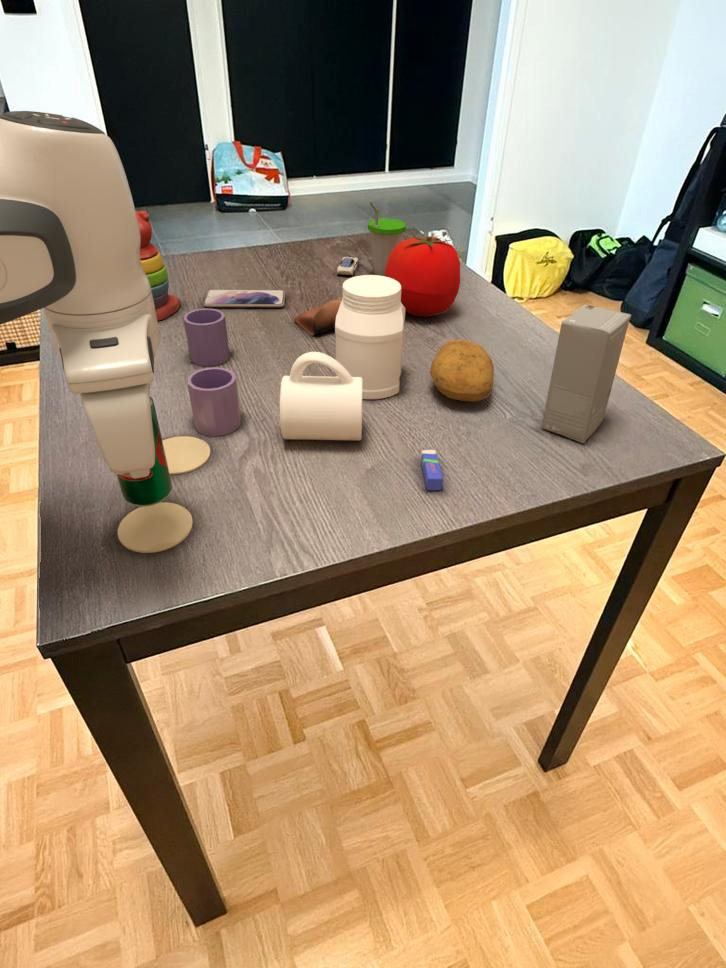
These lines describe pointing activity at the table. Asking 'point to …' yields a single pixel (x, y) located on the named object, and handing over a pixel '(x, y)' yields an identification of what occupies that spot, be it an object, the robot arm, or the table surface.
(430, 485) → the eraser
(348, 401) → the mug
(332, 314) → the sunglasses case
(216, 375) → the purple tumbler
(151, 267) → the stacking bear
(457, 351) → the potato
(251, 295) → the smartphone
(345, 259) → the toy car
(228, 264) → the table surface
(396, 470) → the table surface
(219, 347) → the purple hollow cylinder
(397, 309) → the jar
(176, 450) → the coasters
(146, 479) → the soda can
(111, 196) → the robot arm
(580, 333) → the cosmetic box
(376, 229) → the cup
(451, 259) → the tomato
